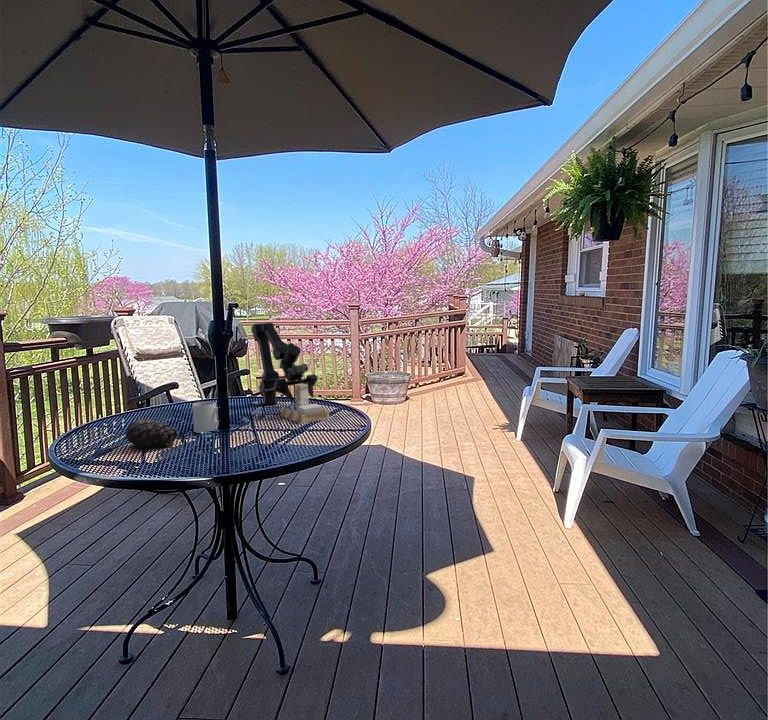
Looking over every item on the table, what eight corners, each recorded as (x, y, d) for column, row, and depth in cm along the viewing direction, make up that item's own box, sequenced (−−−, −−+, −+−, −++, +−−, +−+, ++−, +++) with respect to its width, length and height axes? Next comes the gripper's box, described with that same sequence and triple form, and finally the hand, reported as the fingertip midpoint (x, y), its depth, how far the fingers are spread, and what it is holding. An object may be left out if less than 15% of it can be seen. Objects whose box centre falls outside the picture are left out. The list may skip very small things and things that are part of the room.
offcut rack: (279, 416, 204) (279, 407, 204) (308, 411, 213) (308, 402, 212) (300, 426, 188) (300, 416, 188) (331, 420, 197) (331, 410, 196)
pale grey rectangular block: (296, 414, 203) (294, 384, 201) (303, 413, 205) (302, 383, 203) (301, 416, 199) (300, 386, 197) (309, 415, 201) (307, 385, 199)
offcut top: (298, 412, 196) (297, 406, 196) (315, 409, 201) (315, 403, 200) (304, 415, 191) (304, 409, 191) (322, 412, 196) (322, 406, 196)
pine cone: (175, 449, 163) (172, 421, 161) (121, 451, 162) (119, 422, 161) (186, 440, 173) (184, 413, 172) (136, 442, 172) (133, 415, 171)
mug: (190, 434, 180) (187, 406, 179) (200, 428, 189) (198, 401, 187) (221, 434, 179) (219, 406, 178) (229, 428, 188) (228, 401, 186)
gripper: (274, 360, 197) (287, 390, 190) (314, 355, 208) (328, 384, 200) (268, 376, 204) (280, 406, 197) (307, 371, 215) (320, 399, 208)
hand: (302, 398), depth 200 cm, fingers open, 9 cm apart
